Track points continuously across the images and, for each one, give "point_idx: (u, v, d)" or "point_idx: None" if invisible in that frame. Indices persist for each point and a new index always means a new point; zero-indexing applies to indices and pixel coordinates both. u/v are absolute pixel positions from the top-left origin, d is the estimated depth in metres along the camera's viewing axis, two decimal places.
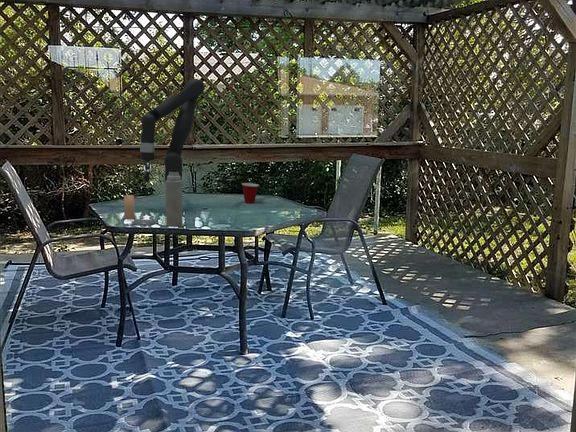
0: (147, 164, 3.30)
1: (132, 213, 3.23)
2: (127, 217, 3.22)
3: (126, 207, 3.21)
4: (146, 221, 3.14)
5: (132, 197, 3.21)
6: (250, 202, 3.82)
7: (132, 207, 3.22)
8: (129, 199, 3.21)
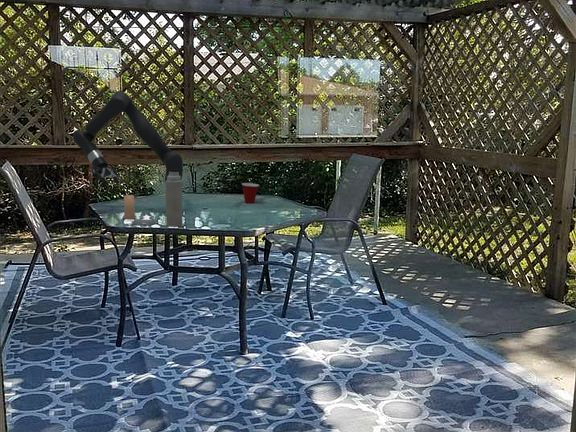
0: None
1: (132, 213, 3.23)
2: (127, 217, 3.22)
3: (126, 207, 3.21)
4: (146, 221, 3.14)
5: (132, 197, 3.21)
6: (250, 202, 3.82)
7: (132, 207, 3.22)
8: (129, 199, 3.21)
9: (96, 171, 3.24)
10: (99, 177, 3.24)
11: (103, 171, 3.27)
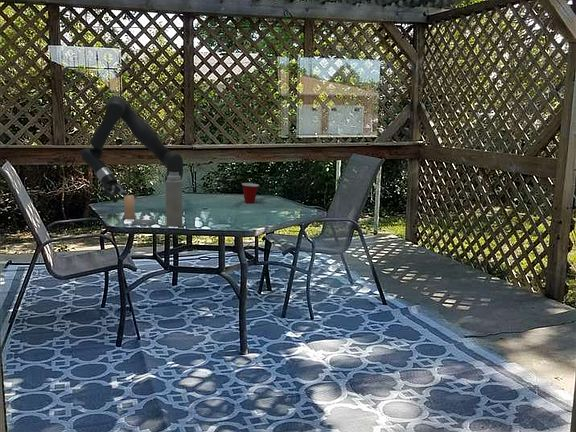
0: None
1: (132, 213, 3.23)
2: (127, 217, 3.22)
3: (126, 207, 3.21)
4: (146, 221, 3.14)
5: (132, 197, 3.21)
6: (250, 202, 3.82)
7: (132, 207, 3.22)
8: (129, 199, 3.21)
9: (106, 189, 3.20)
10: (109, 195, 3.20)
11: (113, 188, 3.23)
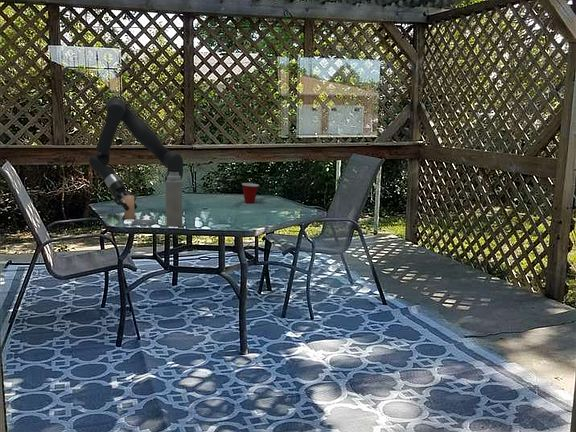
0: None
1: (132, 213, 3.23)
2: (127, 217, 3.22)
3: None
4: (146, 221, 3.14)
5: (132, 197, 3.21)
6: (250, 202, 3.82)
7: (132, 207, 3.22)
8: (129, 199, 3.21)
9: (116, 197, 3.19)
10: (120, 203, 3.20)
11: (122, 196, 3.22)
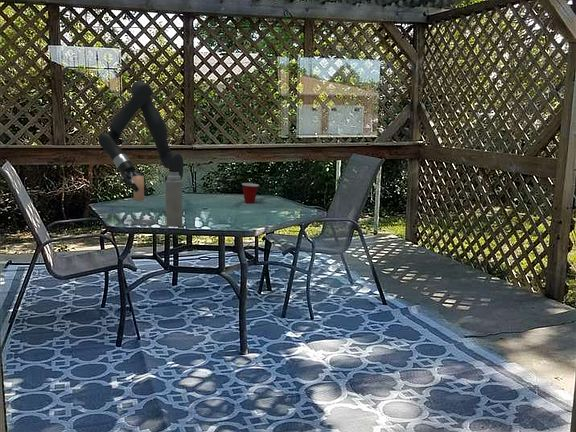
0: None
1: (142, 194, 3.12)
2: (136, 198, 3.11)
3: None
4: (146, 221, 3.14)
5: (142, 177, 3.10)
6: (250, 202, 3.82)
7: (142, 188, 3.11)
8: (138, 180, 3.09)
9: (125, 178, 3.08)
10: (130, 183, 3.09)
11: (132, 176, 3.11)
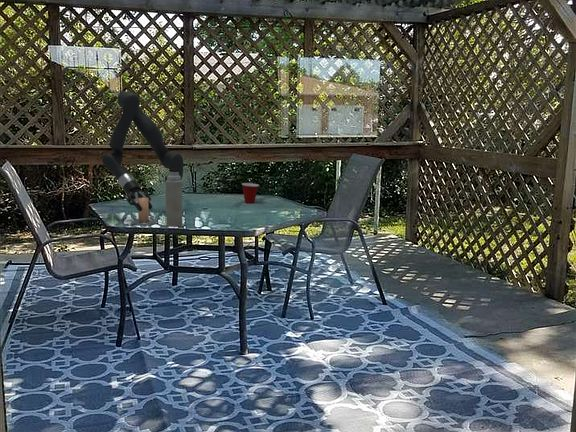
0: None
1: (146, 216, 3.12)
2: (141, 220, 3.11)
3: None
4: None
5: (146, 199, 3.10)
6: (250, 202, 3.82)
7: (146, 210, 3.11)
8: (143, 202, 3.10)
9: (129, 197, 3.07)
10: (133, 203, 3.08)
11: (136, 196, 3.11)
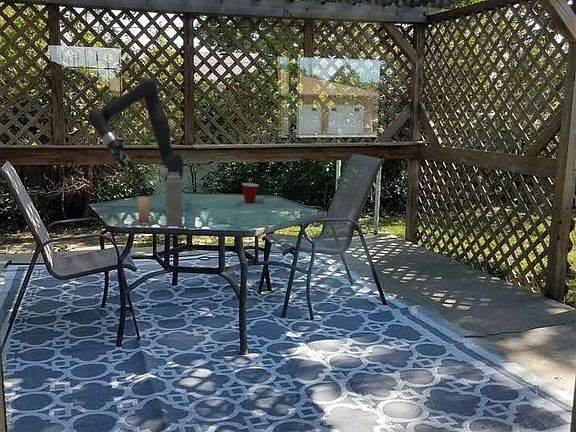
0: None
1: (146, 216, 3.12)
2: (141, 220, 3.11)
3: (140, 210, 3.10)
4: None
5: (147, 200, 3.10)
6: (250, 202, 3.82)
7: (146, 210, 3.11)
8: (143, 202, 3.09)
9: (115, 152, 3.11)
10: (118, 158, 3.11)
11: (121, 153, 3.15)
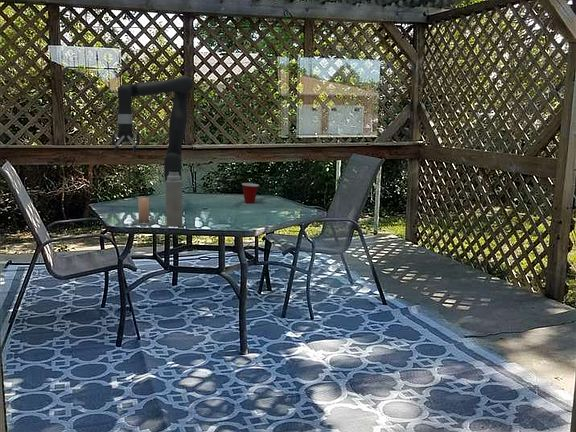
0: (112, 135, 3.28)
1: (146, 216, 3.12)
2: (141, 220, 3.11)
3: (140, 210, 3.10)
4: None
5: (147, 200, 3.10)
6: (250, 202, 3.82)
7: (146, 210, 3.11)
8: (143, 202, 3.09)
9: None
10: None
11: None
